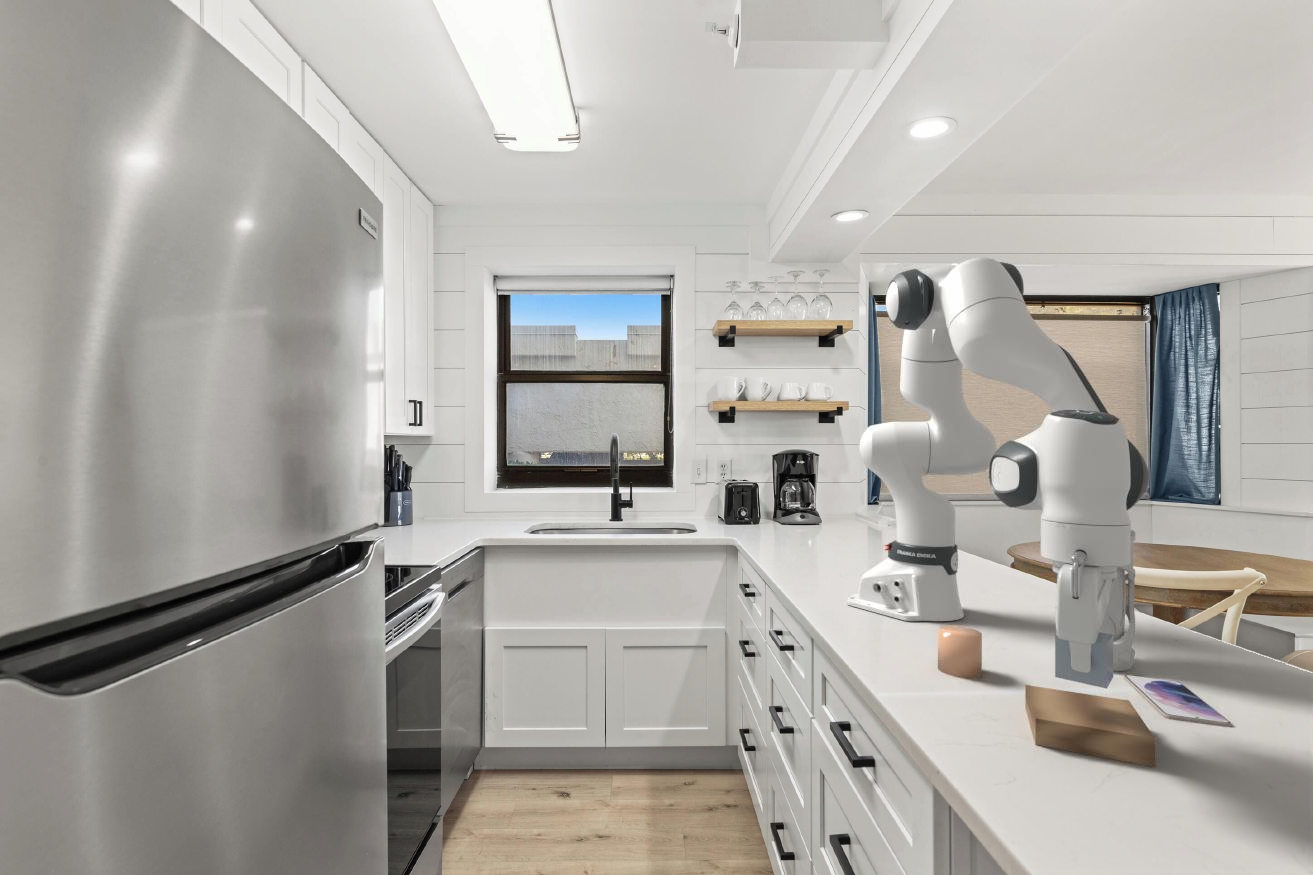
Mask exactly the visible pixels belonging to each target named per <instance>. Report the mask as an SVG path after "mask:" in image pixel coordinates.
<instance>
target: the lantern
mask: <svg viewBox="0 0 1313 875" xmlns="http://www.w3.org/2000/svg"><path fill="white" fill-rule="evenodd" d="M1134 541H1136V532H1135V530H1133V529H1131V563H1130V565H1127V566H1121V567H1117V577H1116V578H1114V579H1112V583H1111V591H1110V597H1109V602H1108V606H1107V609H1106V612H1105V615H1104V618H1103V622H1102V625H1101V628H1100V631H1099V632H1101V633H1107V634H1112V635H1113V672H1123V671H1129V670H1130V669H1132V666H1133V663H1134V661H1135V657H1136V656H1135V654H1136V650H1135V649H1134V648H1133V644H1134V641H1135V636H1136V614H1135V582H1136V580H1135V578H1136V570H1135V568H1134ZM1126 572H1127V573H1126ZM1057 580H1058V573H1056V581H1057ZM1126 581H1127V582H1128V583H1127V584H1126ZM1126 585H1127V587H1126ZM1126 590H1127V591H1126ZM1126 592H1127V594H1126ZM1126 595H1127V596H1126ZM1126 617H1127V620H1128V623H1129V625H1128V628H1127V629H1126V632H1125V623H1126Z"/></svg>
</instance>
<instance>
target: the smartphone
mask: <svg viewBox="0 0 1313 875" xmlns="http://www.w3.org/2000/svg"><path fill="white" fill-rule="evenodd" d="M1122 678H1123V679H1124V680H1125V681H1126V682H1127V683H1128V684H1129V685H1130V686H1131V687H1132V688H1133V689H1134V690H1135V691H1136V692H1137V693H1138V694H1139V695H1140V696H1141V697H1142V698H1143V699H1144V700H1146V702H1147V703H1148V704H1149V705H1150V706H1151V707H1152V708H1153V709H1154V710H1155V711H1156V712H1157V713H1159V715H1161V716H1162V717H1163V718H1165V719H1168V720H1172V719H1173V721H1181V722H1187V723H1193V724H1194V723H1196V724H1204V725H1210V726H1217V727H1225V728H1226V727H1227V728H1232V727H1233V724H1232V722H1231V721H1230V720H1228V718H1226V717H1225V716H1224V715H1222V714H1221V713H1220V712H1218V710H1216V709H1214V708H1213V707H1212V706H1211V705H1210V704H1209V703H1207V702H1206V701H1204V699H1202V698H1201V697H1199V695H1197V694H1196V693H1194V692H1193V691H1192V690H1190V688H1188V687H1187V686H1185V685H1184V684H1183V683H1181V682H1180V681H1178V680H1177V681H1176V680H1171V679H1162V678H1155V677H1154V678H1153V677H1145V676H1140V675H1139V676H1137V675H1131V674H1124V675H1123V677H1122Z"/></svg>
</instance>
